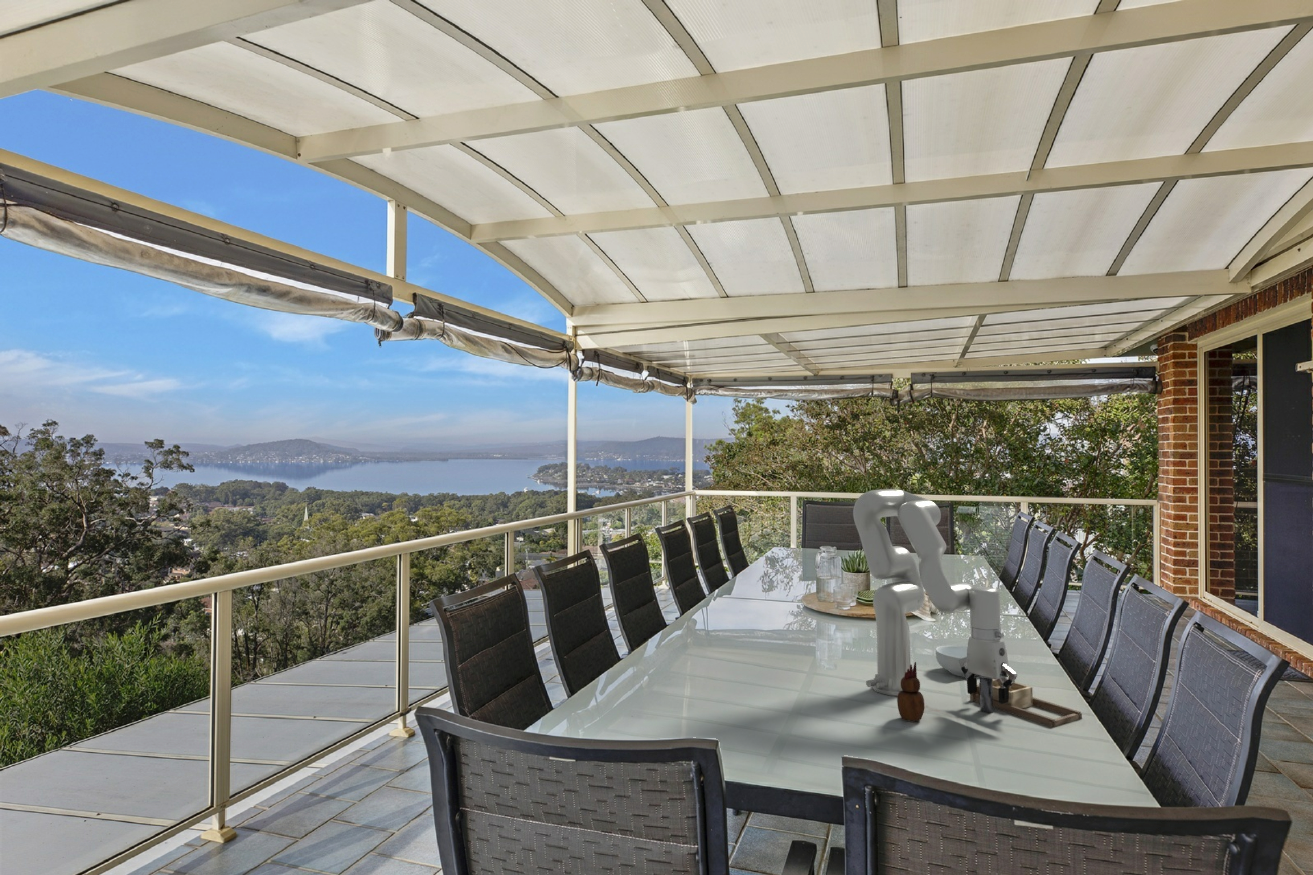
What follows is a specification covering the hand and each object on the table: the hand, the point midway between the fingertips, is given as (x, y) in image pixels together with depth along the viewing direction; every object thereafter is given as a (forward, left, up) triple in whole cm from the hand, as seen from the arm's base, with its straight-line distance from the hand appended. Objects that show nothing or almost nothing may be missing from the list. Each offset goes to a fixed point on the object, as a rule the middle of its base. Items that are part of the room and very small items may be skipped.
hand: (987, 697), depth 198 cm
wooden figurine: (-20, +8, -5) cm, 22 cm away
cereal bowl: (+27, +29, -5) cm, 40 cm away
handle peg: (0, 0, -5) cm, 5 cm away
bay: (+10, -4, -5) cm, 12 cm away
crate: (+10, +2, -4) cm, 11 cm away
